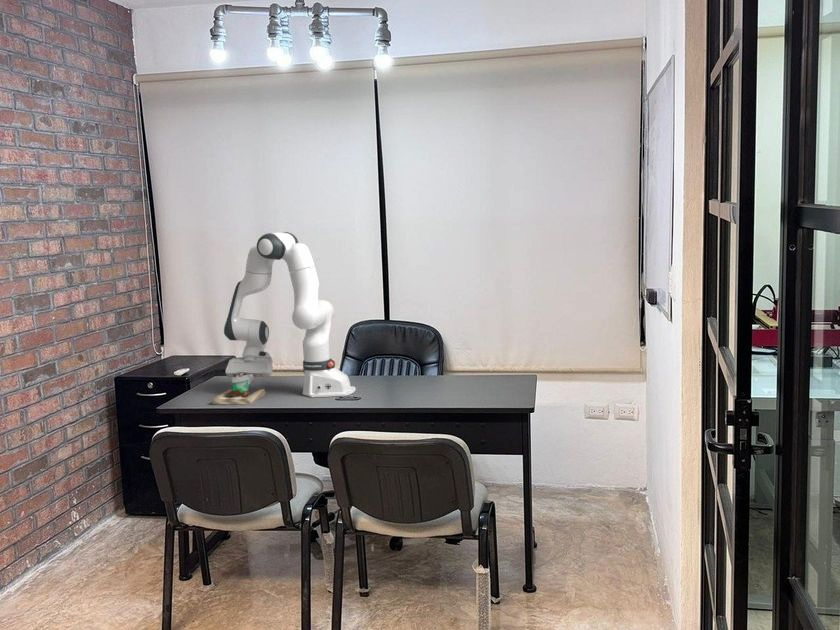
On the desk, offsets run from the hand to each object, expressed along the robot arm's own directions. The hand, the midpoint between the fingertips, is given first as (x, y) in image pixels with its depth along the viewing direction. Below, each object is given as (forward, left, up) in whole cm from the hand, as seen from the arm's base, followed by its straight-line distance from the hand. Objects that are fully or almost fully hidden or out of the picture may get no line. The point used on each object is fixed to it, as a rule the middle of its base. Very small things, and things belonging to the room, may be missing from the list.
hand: (245, 384), depth 347 cm
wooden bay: (0, +7, -5) cm, 8 cm away
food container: (-1, +4, -5) cm, 6 cm away
